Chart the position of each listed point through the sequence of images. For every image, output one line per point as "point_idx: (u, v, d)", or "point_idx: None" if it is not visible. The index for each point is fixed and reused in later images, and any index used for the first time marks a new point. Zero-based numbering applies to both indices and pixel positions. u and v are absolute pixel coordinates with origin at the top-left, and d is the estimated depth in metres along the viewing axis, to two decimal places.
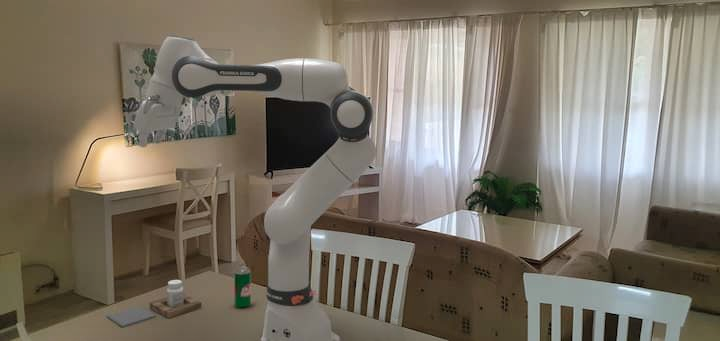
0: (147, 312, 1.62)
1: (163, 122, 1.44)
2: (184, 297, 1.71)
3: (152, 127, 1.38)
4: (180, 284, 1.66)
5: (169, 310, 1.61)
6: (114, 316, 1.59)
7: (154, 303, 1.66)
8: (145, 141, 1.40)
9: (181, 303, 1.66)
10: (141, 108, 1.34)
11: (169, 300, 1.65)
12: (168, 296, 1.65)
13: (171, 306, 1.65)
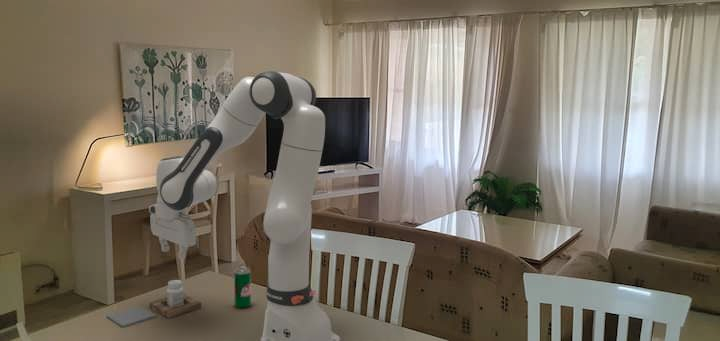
0: (147, 312, 1.62)
1: None
2: (184, 297, 1.71)
3: None
4: (180, 284, 1.66)
5: (169, 310, 1.61)
6: (114, 316, 1.59)
7: (154, 303, 1.66)
8: (185, 252, 1.62)
9: (181, 303, 1.66)
10: (186, 228, 1.57)
11: (169, 300, 1.65)
12: (168, 296, 1.65)
13: (171, 306, 1.65)
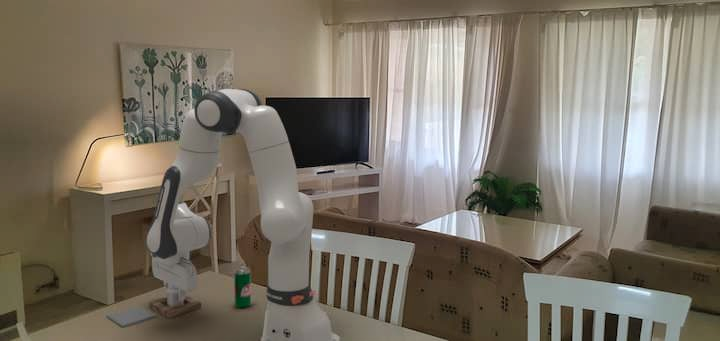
0: (147, 312, 1.62)
1: None
2: None
3: None
4: None
5: (169, 310, 1.61)
6: (114, 316, 1.59)
7: (154, 303, 1.66)
8: (183, 295, 1.65)
9: (181, 303, 1.66)
10: (187, 274, 1.58)
11: (169, 300, 1.65)
12: (168, 296, 1.65)
13: (171, 306, 1.65)
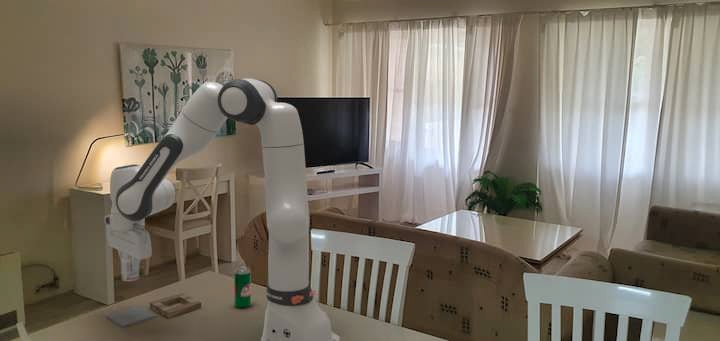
0: (147, 312, 1.62)
1: None
2: (184, 297, 1.71)
3: None
4: None
5: (169, 310, 1.61)
6: (114, 316, 1.59)
7: (154, 303, 1.66)
8: (138, 263, 1.56)
9: (136, 273, 1.57)
10: (140, 240, 1.50)
11: (123, 270, 1.56)
12: (122, 266, 1.56)
13: (125, 276, 1.56)
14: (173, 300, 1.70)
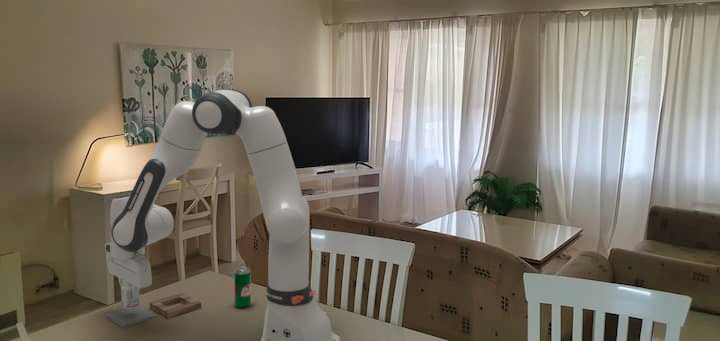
0: (147, 312, 1.62)
1: None
2: (184, 297, 1.71)
3: None
4: None
5: (169, 310, 1.61)
6: (114, 316, 1.59)
7: (154, 303, 1.66)
8: (138, 291, 1.57)
9: (136, 301, 1.58)
10: (141, 269, 1.50)
11: (123, 297, 1.57)
12: (122, 293, 1.57)
13: (125, 304, 1.57)
14: (173, 300, 1.70)
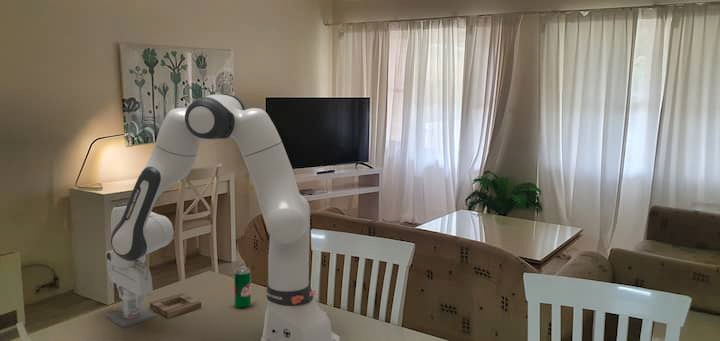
0: (147, 312, 1.62)
1: None
2: (184, 297, 1.71)
3: None
4: None
5: (169, 310, 1.61)
6: (114, 316, 1.59)
7: (154, 303, 1.66)
8: (142, 301, 1.56)
9: (137, 310, 1.59)
10: (141, 278, 1.51)
11: (124, 307, 1.58)
12: (123, 303, 1.58)
13: (126, 313, 1.58)
14: (173, 300, 1.70)
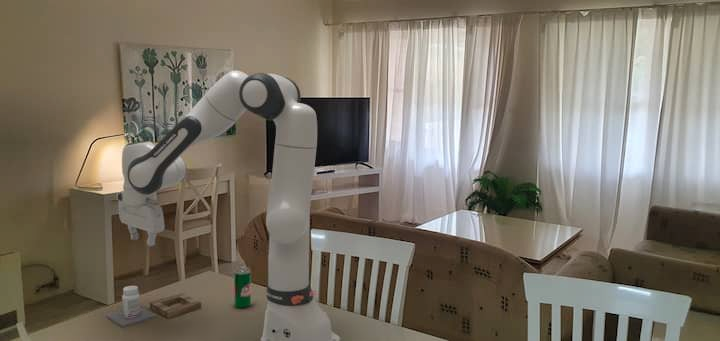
0: (147, 312, 1.62)
1: None
2: (184, 297, 1.71)
3: None
4: (136, 290, 1.58)
5: (169, 310, 1.61)
6: (114, 316, 1.59)
7: (154, 303, 1.66)
8: (154, 239, 1.58)
9: (137, 310, 1.59)
10: (153, 214, 1.52)
11: (124, 307, 1.58)
12: (123, 303, 1.58)
13: (126, 313, 1.58)
14: (173, 300, 1.70)
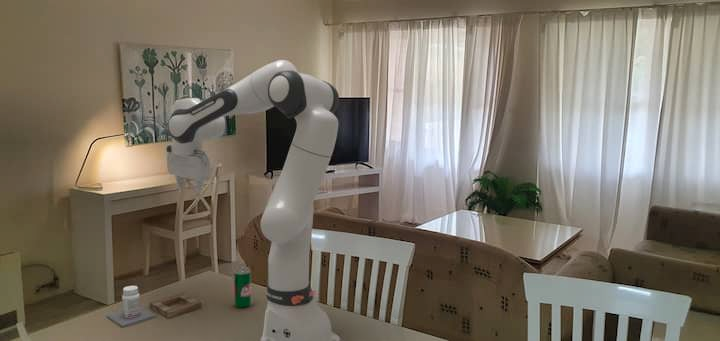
0: (147, 312, 1.62)
1: None
2: (184, 297, 1.71)
3: None
4: (136, 290, 1.58)
5: (169, 310, 1.61)
6: (114, 316, 1.59)
7: (154, 303, 1.66)
8: (200, 188, 1.72)
9: (137, 310, 1.59)
10: (201, 163, 1.67)
11: (124, 307, 1.58)
12: (123, 303, 1.58)
13: (126, 313, 1.58)
14: (173, 300, 1.70)
